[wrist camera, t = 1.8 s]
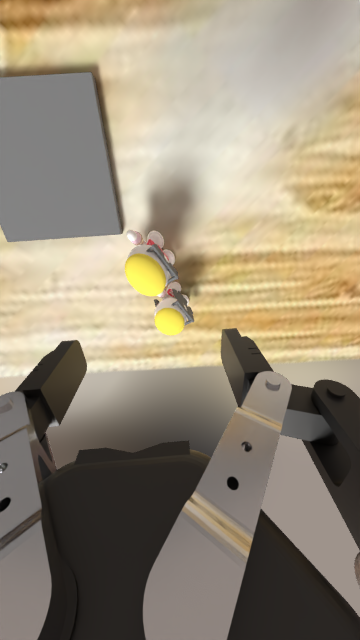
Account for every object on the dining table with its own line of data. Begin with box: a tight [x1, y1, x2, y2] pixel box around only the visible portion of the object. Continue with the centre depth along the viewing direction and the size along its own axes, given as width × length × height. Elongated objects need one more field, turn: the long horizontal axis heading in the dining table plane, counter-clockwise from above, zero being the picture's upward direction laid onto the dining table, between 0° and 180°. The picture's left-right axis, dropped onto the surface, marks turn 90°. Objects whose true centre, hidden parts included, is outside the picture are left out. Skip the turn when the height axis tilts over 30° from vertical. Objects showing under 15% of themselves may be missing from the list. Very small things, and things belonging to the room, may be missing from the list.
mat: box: [0, 72, 122, 242], centre depth 20 cm, size 12×12×1 cm
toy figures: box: [125, 230, 194, 335], centre depth 22 cm, size 12×4×8 cm, turn 20°
